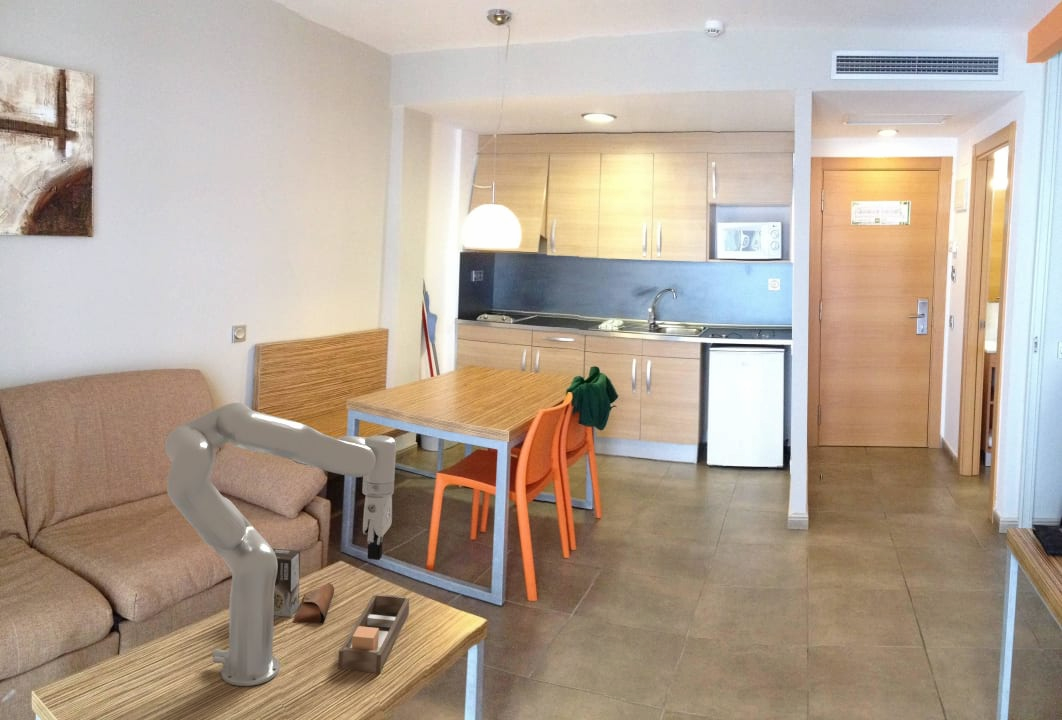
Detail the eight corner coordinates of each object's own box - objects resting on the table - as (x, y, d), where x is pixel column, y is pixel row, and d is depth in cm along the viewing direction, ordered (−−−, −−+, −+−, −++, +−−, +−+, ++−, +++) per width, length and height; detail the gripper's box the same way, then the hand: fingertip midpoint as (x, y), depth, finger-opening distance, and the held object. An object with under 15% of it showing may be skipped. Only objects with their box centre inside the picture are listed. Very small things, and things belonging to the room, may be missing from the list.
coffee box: (299, 607, 215) (301, 550, 213) (290, 618, 209) (292, 559, 207) (267, 603, 216) (268, 547, 214) (257, 614, 210) (258, 556, 208)
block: (351, 655, 188) (352, 636, 187) (357, 645, 193) (358, 626, 192) (372, 658, 188) (373, 638, 187) (378, 647, 193) (378, 628, 192)
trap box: (338, 668, 187) (339, 648, 186) (372, 610, 216) (373, 593, 215) (380, 673, 186) (381, 653, 185) (408, 614, 216) (409, 596, 215)
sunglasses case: (303, 592, 224) (316, 573, 223) (324, 604, 225) (337, 586, 225) (291, 623, 206) (305, 602, 206) (315, 636, 207) (329, 616, 207)
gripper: (385, 497, 186) (381, 571, 189) (401, 479, 201) (397, 548, 203) (353, 494, 187) (350, 568, 189) (372, 476, 201) (368, 545, 204)
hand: (374, 558), depth 196 cm, fingers closed
